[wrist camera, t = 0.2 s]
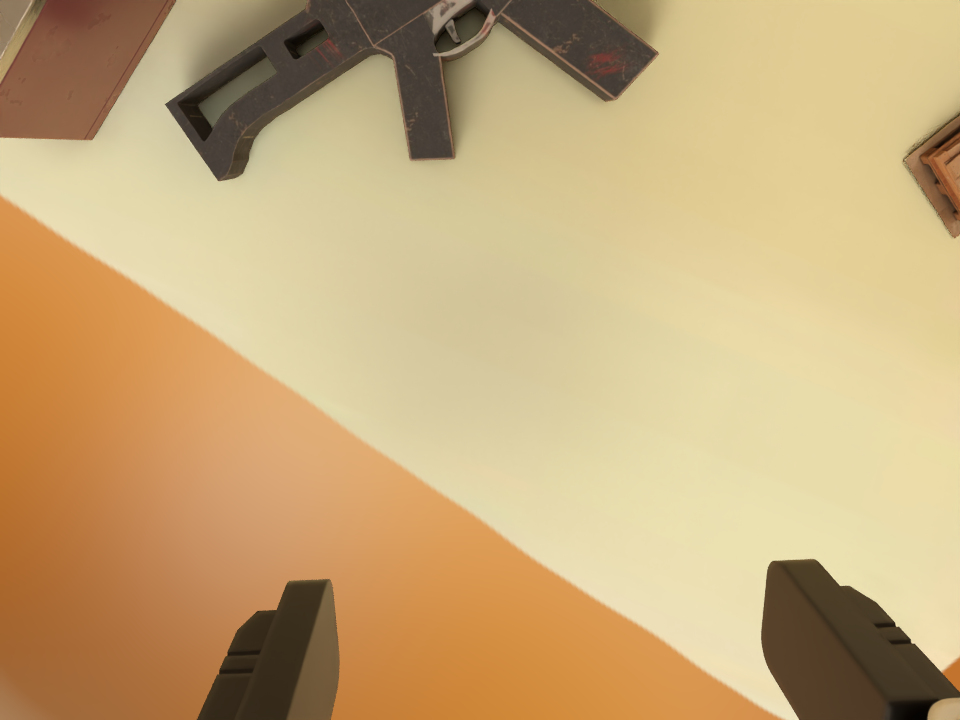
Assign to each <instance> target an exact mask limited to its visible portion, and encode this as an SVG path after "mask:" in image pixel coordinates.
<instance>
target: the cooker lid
mask: <svg viewBox="0 0 960 720" xmlns="http://www.w3.org/2000/svg"><path fill="white" fill-rule="evenodd" d="M46 1H47V0H0V83H1V82H2V80H3V78H4V76H5V74H6V73H7V71H8V69H9V67H10V66H11V64H12V62H13V60H14V58H15V57H16V55H17V53H18V51H19V49H20V48H21V46H22V44H23V42H24V41H25V39H26V37H27V35H28V33H29V32H30V30H31V28H32V26H33V24H34V23H35V21H36V19H37V17H38V16H39V14H40V12H41V10H42V8H43V7H44V5H45V3H46Z"/></svg>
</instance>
